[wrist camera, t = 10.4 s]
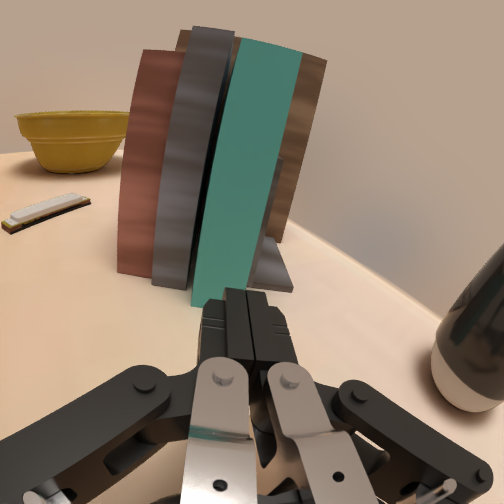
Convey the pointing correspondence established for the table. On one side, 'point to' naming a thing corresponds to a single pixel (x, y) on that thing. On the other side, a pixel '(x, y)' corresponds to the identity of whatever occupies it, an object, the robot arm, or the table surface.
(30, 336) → the table surface
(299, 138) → the book rack
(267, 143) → the teal book
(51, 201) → the harmonica
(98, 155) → the planter bowl
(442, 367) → the black rounded cone
